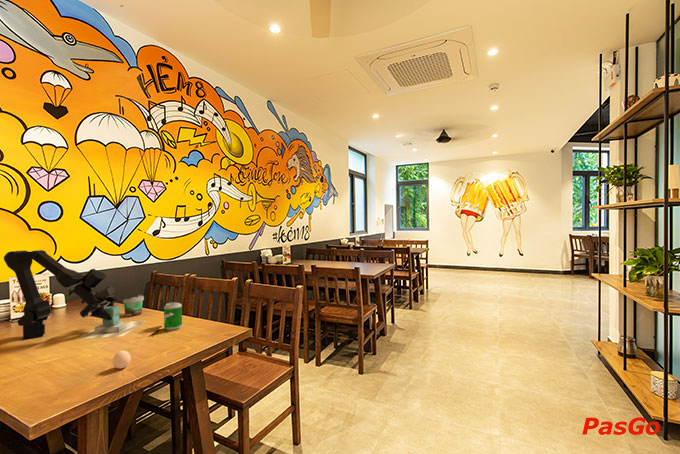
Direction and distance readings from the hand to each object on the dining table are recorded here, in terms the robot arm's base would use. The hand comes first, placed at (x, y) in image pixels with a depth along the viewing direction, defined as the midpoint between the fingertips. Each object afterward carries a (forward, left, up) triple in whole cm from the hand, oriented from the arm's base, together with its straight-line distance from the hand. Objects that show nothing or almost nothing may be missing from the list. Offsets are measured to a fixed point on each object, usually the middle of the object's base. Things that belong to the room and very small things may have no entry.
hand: (114, 318), depth 141 cm
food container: (+12, +30, -7) cm, 33 cm away
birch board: (0, +2, -7) cm, 8 cm away
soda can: (+22, -10, -7) cm, 25 cm away
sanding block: (-1, +1, -6) cm, 6 cm away
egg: (-1, -44, -7) cm, 45 cm away
